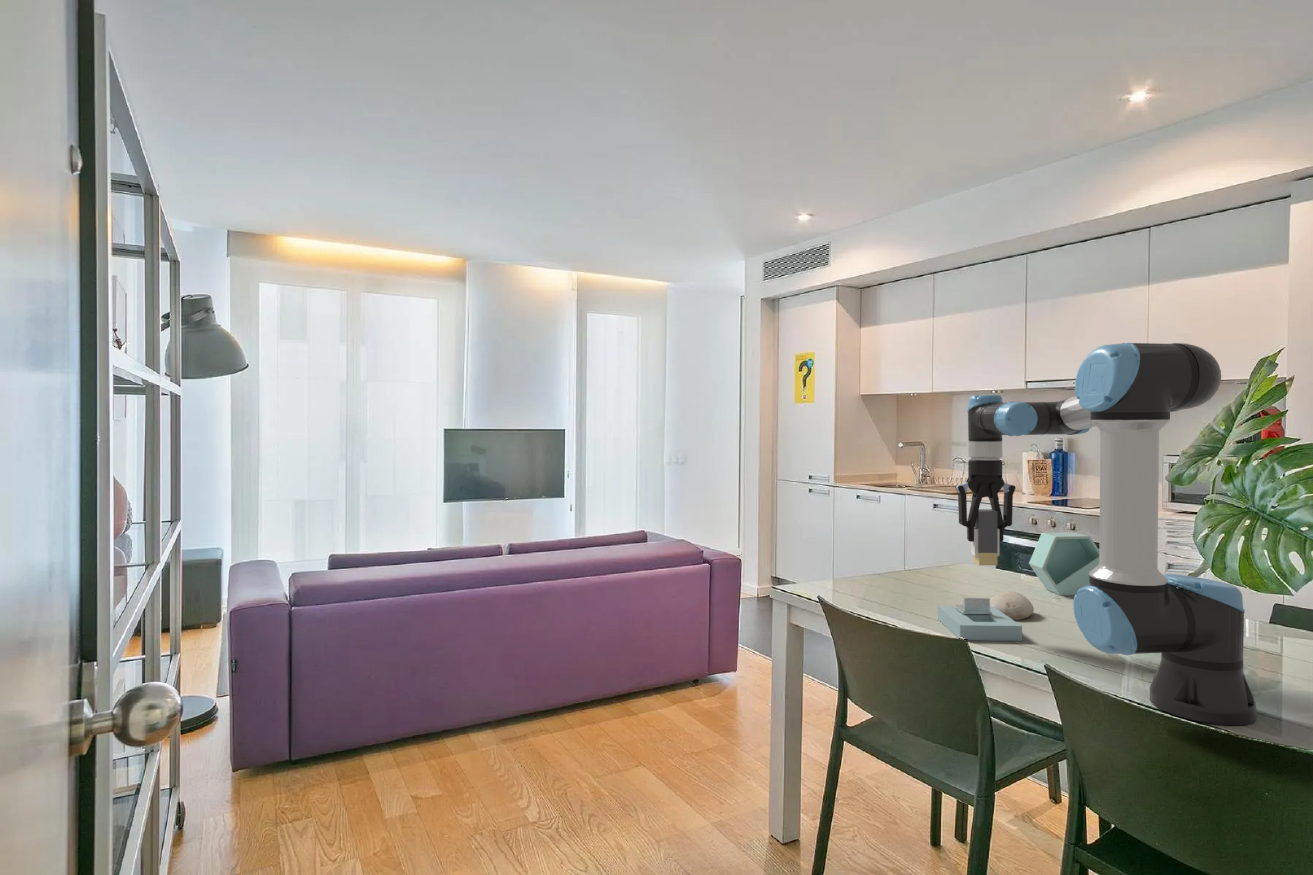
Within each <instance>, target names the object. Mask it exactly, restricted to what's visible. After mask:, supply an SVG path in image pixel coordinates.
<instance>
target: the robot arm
mask: <svg viewBox="0 0 1313 875" xmlns="http://www.w3.org/2000/svg"><path fill="white" fill-rule="evenodd" d="M1221 383H1222V370H1221V367H1220V365H1219V363H1218V360H1217V359H1216V358H1215V357H1214V356H1213V355H1212V354H1211V353H1210V352H1208V351H1207V350H1205V349H1204V348H1202V347H1199V346H1198V345H1193V344H1190V343H1184V342H1183V343H1181V342H1180V343H1179V342H1178V343H1177V342H1173V343H1157V342H1155V343H1154V342H1152V343H1150V342H1149V343H1148V342H1147V343H1145V342H1144V343H1142V342H1134V343H1133V342H1123V343H1112V344H1111V343H1110V344H1104V345H1101V346H1098V347H1096V348H1094V349H1093V350H1091V352H1089V353H1088V354H1087V355H1086V357H1085V359H1083V361H1082V362H1081V364H1080V366H1079V368H1078V370H1077V373H1076V377H1075V383H1074V392H1075V396H1072V397H1069V398H1067V399H1063V400H1060V401H1008V402H1003V398H1002V396H1001V395H999V394H980V395H979V394H978V395H977V394H976V395H971V396H970V397H969V398H968V409H967V421H968V422H967V431H968V432H967V434H968V435H967V436H968V444H967V445H968V448H967V449H968V450H967V451H968V454H967V455H968V458H970V459H969V460H968V462H967V463H968V465H967V466H968V468H967V469H968V471H967V472H968V474H967V475H968V477H967V479H966V481H965V483H961V484H956V485H955V491H956V492H957V498H958V499H957V500H958V501H957V504H958V524H959V525H961V526H963V527H965V528H966V534H967V535H966V536H967V541H968V542H971V543H970V544H971V545H970V551H971V552H970V553H971V555H972V556H973V555H974V556H978V529H977V528H975V524H976V519H977V515H978V511H979V509H980V507H981V502H982V500H983V498H988V500H989V504H990V507H991V509H992V510H994V511H997V557H1000V543H1003V541H1004V531H1005V529H1006V527H1011V526H1012V525H1013V508H1014V507H1013V504H1014V503H1013V498H1014V496H1013V495H1014V493H1015V491H1016V489H1017V488H1016V486H1015V485H1014V484H1013V485H1012V484H1008V483H1006V482H1005V480H1004V478H1003V461H1002V460H1001V458H1002V457H1003V436H1008V437H1009V436H1010V437H1020V436H1037V435H1038V436H1039V435H1040V436H1043V435H1067V436H1075V435H1081V434H1086V433H1088V432H1089V431H1090V429H1091V428H1093V427H1096V428H1098V429H1099V432H1100V434H1099V436H1100V437H1099V438H1100V441H1099V444H1100V445H1099V447H1100V448H1099V449H1100V450H1099V451H1100V452H1099V457H1100V458H1099V460H1100V461H1099V463H1100V464H1099V546H1098V547H1099V548H1098V549H1099V565H1098V566H1097V567H1095V568H1094V569H1093V570H1091V571H1090V572H1089V586H1085V587H1083V588H1081V589H1079V590H1078V591H1077V594H1076V595H1074V597H1073V604H1072V605H1073V613H1074V619H1075V621H1076V623H1077V627H1078V628H1079V630H1080V632H1081V633H1082V635H1083V637H1084V639H1086V641H1087V642H1088V643H1089V644H1090V645H1091V646H1092V647H1093V648H1095V649H1096V650H1098V651H1100V652H1102V653H1105V654H1110V655H1113V654H1114V655H1123V656H1132V655H1137V654H1138V655H1140V654H1142V655H1143V654H1160V656H1161V657H1160V662H1159V664H1158V666H1157V669H1156V671H1155V674H1154V676H1153V677H1152V681H1151V684H1150V687H1149V701H1150V703H1151V704H1152V705H1154V706H1155V707H1156V708H1158V709H1160V710H1162V711H1164V712H1167V713H1169V714H1172V715H1174V716H1177V717H1180V718H1184V719H1187V720H1192V721H1194V722H1195V721H1196V722H1200V723H1206V724H1207V723H1208V724H1212V725H1213V724H1214V725H1221V726H1222V725H1223V726H1243V725H1249V724H1252V723H1254V722H1256V720H1257V718H1258V717H1257V712H1258V711H1257V704H1256V703H1257V702H1256V701H1255V699H1254V695H1253V693H1252V690H1251V688H1250V685H1249V683H1248V680H1247V678H1246V675H1245V672H1244V638H1245V637H1244V632H1245V631H1244V630H1245V629H1244V628H1245V627H1244V624H1245V621H1244V620H1245V612H1246V611H1245V609H1244V603H1243V602H1244V601H1243V593H1242V591H1241V590H1240V589H1239V588H1238V587H1236V586H1235V585H1232V584H1229V583H1226V582H1222V581H1218V580H1213V579H1209V578H1203V577H1197V576H1190V575H1184V574H1177V573H1176V574H1174V573H1165V574H1163V573H1162V572H1161V571H1160V570H1159V569H1158V565H1159V564H1158V563H1159V562H1158V559H1159V558H1158V556H1159V555H1158V553H1159V552H1158V551H1159V550H1158V549H1159V544H1158V543H1159V473H1160V472H1159V471H1160V469H1159V468H1160V466H1159V465H1160V463H1159V462H1160V431H1161V430H1162V429H1163V428H1164V427H1165V426H1166V425H1167V424H1169V423H1170V422H1171V413H1173V412H1178V411H1182V410H1188V409H1194V408H1196V407H1199V406H1202V405H1204V404H1205V403H1207V402H1209V401H1210V400H1211V399H1212V398H1213V397H1214V396H1215V395H1216V393H1217V391H1218V390H1219V388H1220V386H1221ZM968 488H969V490H970V492H971V493H972V495H971V503H970V507H969V512H968V511H967V510H968V508H967V507H968V506H967V504H968V503H967V502H968V501H967V494H966V493H967V492H968ZM1001 490H1002V491H1003V512H1002V511H1001V507H1000V502H999V501H1000V500H999V499H1000V498H999V494H998V493H999V492H1000V491H1001Z"/></svg>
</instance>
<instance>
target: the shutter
mask: <svg viewBox="0 0 1313 875" xmlns="http://www.w3.org/2000/svg"><path fill="white" fill-rule="evenodd" d="M990 599H991V598H989V597H963V600H962V601H963V603H962V604H954V605H953V606H954V607H955V608H956V609H958V610H959V611H960V612H961V613H963V614H992V612H991V611H990Z"/></svg>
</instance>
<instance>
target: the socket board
mask: <svg viewBox="0 0 1313 875" xmlns="http://www.w3.org/2000/svg"><path fill="white" fill-rule="evenodd" d="M990 611H991V612H992V614H963V613H961V612H960V611H959V610H958V609H956V608H955V607H954V605H953V606H951V605H949V606H948V605H947V606H945V605H937V621H939V622H940V621H941V622H940V623H941V624H942V623H943V624H942V625H943V626H944V627H945V628H946V629H947V630H948V631H949V632H951V633H952V634H953V635H954V636H955V637H956V638H958V637H963V638H965V639H968V640H967V641H999V642H1000V641H1007V642H1011V641H1013V642H1014V641H1015V642H1022V641H1023V626H1022V625H1021V624H1019V622H1017V621H1016V620H1012V619H1011V618H1009V617H1008V616H1007V615H1005V614H1004V613H1002V612H1001V611H999V610H998V609H996V608H995V607H990Z"/></svg>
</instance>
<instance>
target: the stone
mask: <svg viewBox="0 0 1313 875" xmlns="http://www.w3.org/2000/svg"><path fill="white" fill-rule="evenodd" d="M989 599H990V607H995V608H996V609H998V610H999V611H1001V612H1002V613H1004V614H1005V615H1007V616H1008V617H1009V618H1011V619H1012V620H1014V621H1017V620H1018V621H1019V620H1024V619H1026V618H1029V617H1031V615H1032V614H1033V613H1034V611H1035V610H1034V608H1035V607H1034V606H1033V604H1032V602H1031V601H1030V600H1029V599H1028V598H1027V597H1026V596H1025V595H1023V594H1021V593H1020V592H1017V591H1014V590H1009V591H1007V592H1002V593H999V594H997V595H995V596H993V597H991V598H989Z"/></svg>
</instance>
